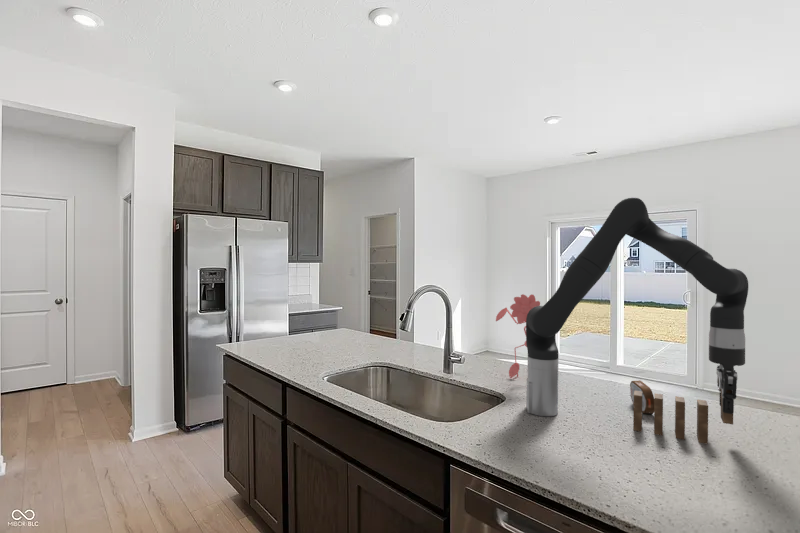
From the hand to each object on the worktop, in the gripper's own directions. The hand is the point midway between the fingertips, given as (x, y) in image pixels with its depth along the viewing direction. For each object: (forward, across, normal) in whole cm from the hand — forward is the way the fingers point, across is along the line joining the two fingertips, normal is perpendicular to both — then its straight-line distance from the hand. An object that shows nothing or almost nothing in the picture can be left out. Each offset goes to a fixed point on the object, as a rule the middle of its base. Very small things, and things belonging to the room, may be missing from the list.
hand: (726, 409), depth 109 cm
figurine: (+9, +31, +60) cm, 68 cm away
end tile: (+3, 0, 0) cm, 3 cm away
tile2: (+9, 0, +15) cm, 18 cm away
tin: (+9, +19, +20) cm, 29 cm away
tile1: (+9, 0, +20) cm, 22 cm away
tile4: (+9, 0, +5) cm, 10 cm away
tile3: (+9, 0, +10) cm, 14 cm away
